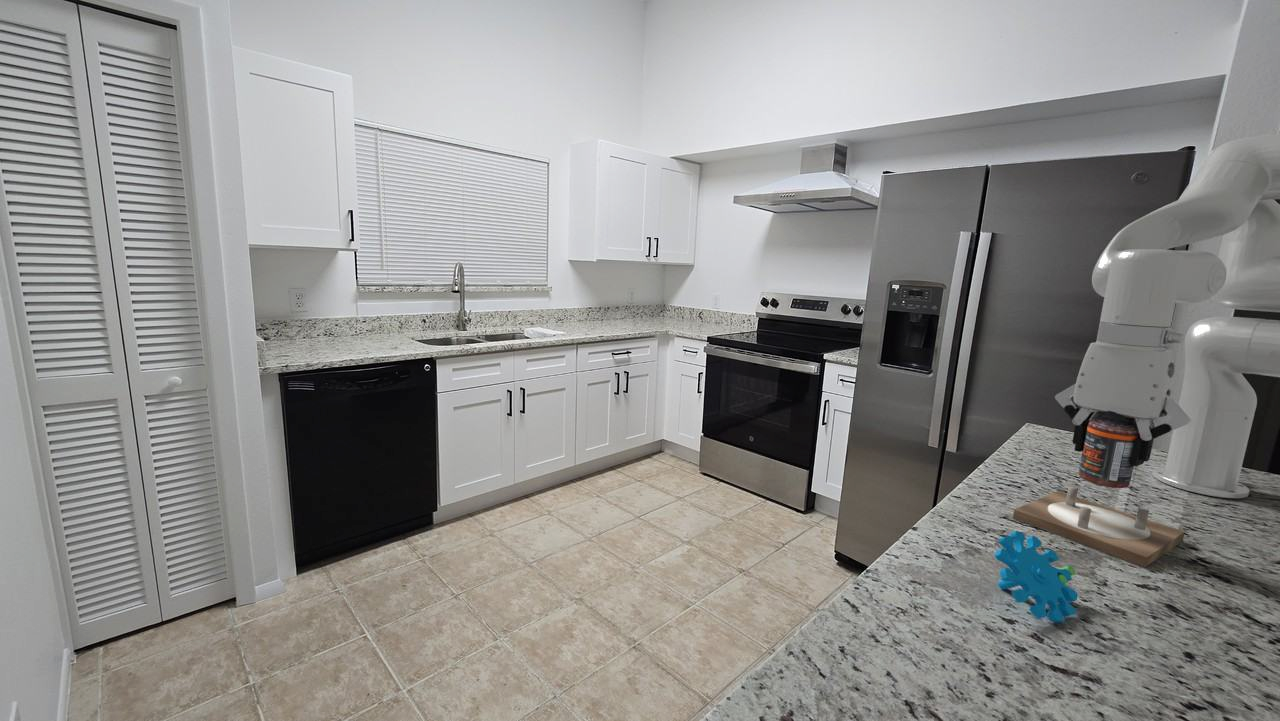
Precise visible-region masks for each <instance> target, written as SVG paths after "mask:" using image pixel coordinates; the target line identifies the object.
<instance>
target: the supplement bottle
mask: <svg viewBox="0 0 1280 721" xmlns="http://www.w3.org/2000/svg"><path fill="white" fill-rule="evenodd" d="M1134 421H1136V420H1135V418H1130V417H1125V416H1123V415H1120V414H1117V413H1116V412H1113V411H1102V412H1100V411H1098V413H1097V417H1095V418H1094V419H1091V420H1090V422H1089V423H1088V426H1087V431H1086V436H1085V441H1084V447H1083V451H1081V452H1082V453H1081V457H1080V458H1081V459H1080V463H1079V468H1078V475H1079V477H1080V478H1081V479H1083V480H1084V481H1086V482H1089V483H1091V484H1094V485H1096V486H1099V487H1105V488H1113V489H1125V488H1128V487H1129V486H1130V485H1131V480H1132V475H1133V471H1134V467H1135V466H1132V465H1131V464H1130V459H1131V454H1132V450H1133V445H1134V440H1135V439H1137V438H1139V434H1140V433H1139V430H1138V426H1137V425H1136V424H1135V422H1134Z"/></svg>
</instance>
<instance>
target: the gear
mask: <svg viewBox="0 0 1280 721" xmlns="http://www.w3.org/2000/svg"><path fill="white" fill-rule="evenodd" d="M997 541H998V543H999V545H1000V546H1001V548H1000V549H996V551H995V552H994V553H995V554H994V558H995V559H996V560H997V561H999V562H1001V563H1003V565H1006V566H1007V567H1005V568H1001V569H999V576H1000V579H1001V580H999V581H998V583H997V584H998V587H999V588H1000V589H1001V590H1003V591H1005V590H1008V589H1012V588H1015V587H1019V586H1020V587H1021V588H1017V589H1013V590H1012V591H1011V594H1012V596H1013V598H1014V600H1015V601H1016V602H1017V603H1019V604H1021V603H1025V602H1027V601H1028V600H1029V597H1031V598H1033V599H1034V601H1035V603H1036V604H1034V605H1031V606H1030V607H1029V612H1030V613H1031V614H1032V615H1033V616H1034V617H1036V618H1037V619H1042V618H1046V617H1047V619H1048V620H1049V621H1050V622H1053V623H1058V624H1060V623H1063V622H1065V618H1066V617H1069V616H1073V615H1075V614H1076V613H1077V611H1076V609H1075V608H1074V606H1073V605H1072V604H1071V603H1072V602H1077V600H1078V596H1079V594H1078V593H1077V591H1076V590H1075V589H1073V588H1070V587H1069V586H1067V584H1068V582H1069V581H1072V576H1075V575H1076V574H1077V571H1076V569H1075V568H1074V567H1073V566H1072V565H1068V566H1067V565H1066V566H1063V567H1060V568H1057V567H1055V566H1053V565H1052V564H1051V563H1054V562H1057V561H1059V559H1060V558H1059V556H1058V555H1057V553H1056V552H1055V551H1054V549H1048V550H1045V551H1043V553H1042V554H1040V553H1039V552H1038V551H1037V549H1036V548H1039V547H1042V546H1043V545H1042V544H1043V542H1042V541H1041V540H1040V539H1039V538H1038V537H1037V536H1036V535H1031V536H1028V537H1027V538H1026V535H1025V534H1024V533H1023V532H1020V531H1018V530H1015V531H1012V532H1010V533H1009V535H1006V536H1003V537H1000V538H999V539H997ZM1025 541H1026V543H1027V545H1026V547H1025V545H1024V542H1025ZM1002 547H1003V548H1002ZM1046 605H1047V606H1048V607H1049V610H1048V611H1047V609H1046Z"/></svg>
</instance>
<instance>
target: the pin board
mask: <svg viewBox="0 0 1280 721" xmlns="http://www.w3.org/2000/svg"><path fill="white" fill-rule="evenodd" d="M1078 492H1079V488H1077V487H1075V486H1068V488H1067V493H1064V492H1062V491H1056V492H1052V493H1050V494H1047V495H1045V496H1043V497H1040V498H1038V499H1036V500H1033V501H1031V502H1028V503H1026V504H1024V505H1021V506H1019V507H1016V508H1014V509H1013V514H1012V519H1014V520H1017V521H1019V522H1022V523H1025V524H1027V525H1031V526H1033V527H1035V528H1038V529H1041V530H1044V531H1046V532H1048V531H1049V533H1051V532H1052V533H1051V534H1054V535H1056V534H1057V535H1056V536H1059V535H1060V536H1059V537H1061V538H1065V539H1067V540H1069V541H1071V542H1075V543H1078V544H1080V545H1083V546H1085V545H1086V547H1088V548H1091V549H1094V550H1096V551H1098V552H1102V553H1105V554H1107V555H1109V554H1110V556H1112V557H1115V558H1118V559H1120V560H1123V561H1125V562H1128V563H1131V564H1134V565H1136V566H1139V567H1141V568H1144V569H1145V568H1147V567H1148V566H1149V565H1151V564H1152V563H1154V562H1155V561H1156V560H1158V559H1159V558H1161V557H1162V556H1164V555H1165V554H1167V552H1169V551H1171V550H1172V549H1174V548H1176V546H1178V545H1179V544H1181V543H1182V542H1184V538H1185V533H1186V532H1185V531H1184V530H1181V529H1178V528H1176V527H1173V526H1169V525H1167V524H1162V523H1160V522H1156V521H1153V520H1150V519H1148V518H1149V514H1150V510H1149V509H1147V508H1144V507H1138V508H1137V512H1136V515H1135V514H1130V513H1128V512H1125V511H1122V510H1119V509H1115V508H1113V507H1108V506H1106V505H1102V504H1099V503H1097V502H1093V501H1090V500H1087V499H1084V498H1080V497H1078Z"/></svg>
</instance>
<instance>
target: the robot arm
mask: <svg viewBox="0 0 1280 721" xmlns="http://www.w3.org/2000/svg"><path fill="white" fill-rule="evenodd" d="M1276 200H1280V132H1277V133H1268V134H1261V135H1254V136H1253V135H1252V136H1247V137H1242V138H1238V139H1233V140H1231V141H1227V142H1225V143H1223V144H1221V145H1220V146H1218V147H1217V148H1215V149H1214V150H1213V151H1212V152H1210V154H1209V155H1208V156H1207V157H1206V159H1205V160H1204V161H1203V163H1202V164H1201V166H1200V167H1199V169H1198V170H1197V172H1196V173H1195V174H1194V175H1193V178H1192V179H1191V181H1190V182H1188V185H1187V186H1186V187H1185V189H1184V190H1183V192H1182V194H1181V195H1180V196H1179V198H1178V199H1177V200H1175V201H1172V202H1171V203H1168V204H1166V205H1164V206H1162V207H1160V208H1157V209H1156V210H1153V211H1151V212H1149V213H1148V214H1145V215H1144V216H1142V217H1140V218H1138V219H1136V220H1134V221H1133V222H1130V223H1129V224H1127V225H1126V226H1124V227H1123V228H1122V229H1120V230H1119V231H1118V232H1117V233H1116V234H1115V235H1114V237H1113V238H1112V239H1111V240H1110V242H1109V243H1108V244H1107V246H1106V247H1105V249H1104V250H1103V252H1102V253H1101V255H1100V256H1099V258H1098V260H1097V261H1096V264H1095V265H1094V268H1093V270H1092V274H1091V284H1092V288H1093V290H1094V291H1095V292H1096V294H1098V295H1099V296H1101V297H1103V303H1102V308H1101V313H1100V318H1099V320H1100V321H1099V325H1098V330H1097V335H1096V341H1095V342H1091V343H1089V346H1088V348H1087V350H1086V352H1085V355H1084V357H1083V359H1082V362H1081V365H1080V368H1079V371H1078V375H1077V377H1076V381H1075V382H1076V383H1073V384H1072V385H1071V386H1069V387H1067V388H1065V389H1064V390H1062V391H1061V392H1060V391H1059V393H1057V394H1055V395H1054V399H1055V400H1056V401H1057V403H1058V404H1059V405H1060V406H1061V407H1062V408H1063V410H1064V412H1065V413H1066V414H1067V416H1068V417H1069V418H1070V419H1071V421H1072V424H1073V425H1074V430H1073V436H1072V441H1071V442H1072V444H1074V445H1075V446H1074V451H1075V452H1080V453H1081V452H1083V447H1084V441H1085V436H1086V431H1087V426H1088V423H1089V422H1090V421H1091V420H1092V418H1093V417H1094V416H1095V414H1096V413H1097V412H1099V411H1100V412H1102V411H1113V412H1116V413H1117V414H1120V415H1123V416H1125V417H1130V418H1134V419H1135V420H1134V421H1135V422H1136V427H1138V430H1139V433H1140V434H1139V438H1137V439H1135V440H1134V445H1133V450H1132V454H1131V459H1130V464H1131V465H1132V466H1134V467H1139V466H1141V465H1143V464H1144V463H1145V462H1146V463H1147V462H1149V460H1150V458H1151V453H1152V448H1153V444H1154V440H1155V439H1156V438H1160V437H1161V436H1164V435H1166V434H1167V433H1171V432H1172V434H1171V439H1170V444H1169V449H1168V454H1167V456H1166V457H1167V458H1166V462H1165V466H1159V467H1154V469H1153V470H1152V477H1154V478H1155V479H1156V480H1158V481H1159V482H1161V483H1164V484H1166V485H1168V486H1172V487H1175V488H1178V489H1180V490H1184V491H1188V492H1192V493H1196V494H1200V495H1205V496H1209V497H1216V498H1223V499H1224V498H1225V499H1245V498H1247V497H1248V496H1249V495H1250V489H1249V487H1248V486H1246V485H1244V484H1242V483H1240V482H1239V480H1240V476H1241V472H1242V467H1243V463H1244V459H1245V455H1246V451H1247V447H1248V443H1249V442H1248V441H1249V437H1250V434H1251V429H1252V425H1253V421H1254V417H1255V412H1256V409H1257V404H1258V397H1257V394H1256V391H1255V389H1254V388H1253V387H1252V386H1251V384H1250V383H1249V381H1248V380H1247V379H1246V378H1245V376H1244V375H1243V374H1248V375H1249V374H1250V375H1251V374H1253V375H1260V376H1267V377H1268V376H1269V377H1274V378H1280V320H1277V319H1265V318H1257V317H1256V318H1253V317H1240V316H1212V317H1205V318H1203V319H1199V320H1198V321H1195V322H1194V323H1192V324H1191V326H1190V327H1189V328H1188V330H1187V331H1186V334H1185V338H1184V334H1183V333H1177V332H1176V331H1174V330H1173V327H1171V326H1172V322H1173V318H1174V312H1175V308H1176V304H1196V303H1201V302H1204V301H1207V300H1209V299H1211V301H1212V302H1213V303H1214V304H1215V305H1216V306H1219V307H1222V308H1225V309H1232V310H1241V311H1254V312H1255V311H1257V312H1271V313H1280V203H1278V202H1277V201H1276ZM1221 236H1222V239H1221V240H1222V241H1221V244H1220V249H1219V252H1218V256H1217V255H1216V254H1214V253H1212V252H1209V251H1203V250H1175V249H1174V250H1173V248H1177V247H1182V246H1185V245H1186V246H1187V245H1191V244H1196V243H1200V242H1203V241H1207V240H1210V239H1214V238H1217V237H1221ZM1183 340H1184V363H1185V364H1184V375H1183V382H1182V388H1181V392H1180V396H1179V401H1178V403H1177V402H1176V401H1175V400H1174V399H1173V391H1174V385H1175V371H1176V370H1175V367H1176V366H1175V365H1176V364H1175V363H1176V362H1175V361H1176V358H1175V357H1176V356H1175V351H1174V350H1171V349H1167V347H1169V346H1170V345H1171V344H1174V343H1175V344H1182V342H1183ZM1072 397H1073V400H1072ZM1079 407H1080V408H1079ZM1168 415H1169V416H1170V420H1169V421H1166V422H1164V423H1162V424H1159V425H1157V424H1156V421H1155V420H1157V419H1158V418H1164V417H1166V416H1168Z"/></svg>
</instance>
